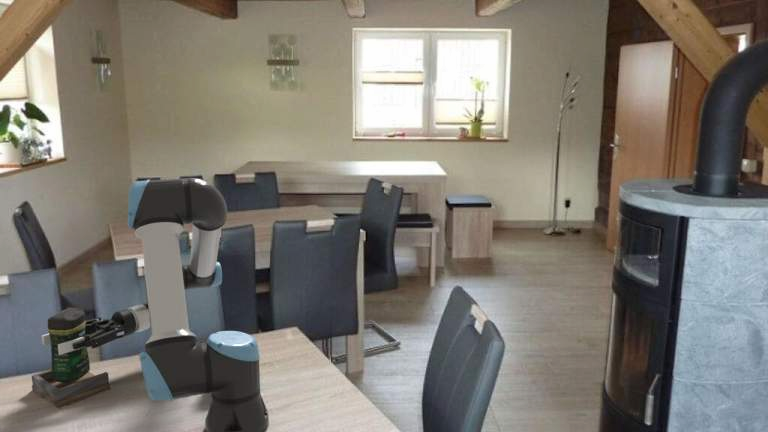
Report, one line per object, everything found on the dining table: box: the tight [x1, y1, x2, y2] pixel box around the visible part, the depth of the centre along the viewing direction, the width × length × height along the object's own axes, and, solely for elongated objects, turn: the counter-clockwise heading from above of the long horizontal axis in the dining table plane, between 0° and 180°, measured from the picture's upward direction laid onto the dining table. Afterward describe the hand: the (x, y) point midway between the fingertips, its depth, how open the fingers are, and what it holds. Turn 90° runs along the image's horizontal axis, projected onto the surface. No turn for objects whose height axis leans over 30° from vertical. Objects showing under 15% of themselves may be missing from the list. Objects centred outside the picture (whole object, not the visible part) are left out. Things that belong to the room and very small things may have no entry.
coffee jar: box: [47, 307, 91, 383], centre depth 175 cm, size 10×8×19 cm
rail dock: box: [31, 368, 112, 409], centre depth 176 cm, size 16×14×4 cm
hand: (50, 345), depth 171 cm, fingers closed on coffee jar, 9 cm apart
